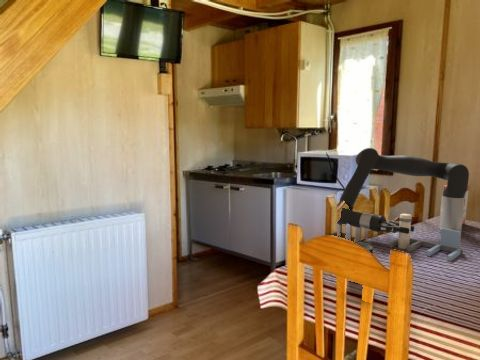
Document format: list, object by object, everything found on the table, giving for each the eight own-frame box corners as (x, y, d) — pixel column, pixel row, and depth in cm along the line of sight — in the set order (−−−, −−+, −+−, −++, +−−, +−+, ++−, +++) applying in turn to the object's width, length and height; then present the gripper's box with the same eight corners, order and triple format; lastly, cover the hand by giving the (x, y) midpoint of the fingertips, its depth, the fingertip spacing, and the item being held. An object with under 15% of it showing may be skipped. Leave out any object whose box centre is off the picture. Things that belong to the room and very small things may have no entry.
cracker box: (449, 227, 197) (452, 186, 194) (438, 224, 202) (441, 185, 199) (466, 224, 203) (469, 185, 200) (455, 221, 209) (458, 183, 206)
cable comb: (400, 240, 173) (402, 220, 172) (463, 253, 156) (465, 232, 154) (387, 246, 164) (388, 225, 163) (452, 261, 146) (454, 238, 145)
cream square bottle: (394, 245, 165) (397, 213, 163) (405, 245, 166) (407, 213, 164) (401, 249, 161) (403, 216, 159) (412, 248, 161) (414, 216, 159)
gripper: (365, 216, 167) (405, 224, 155) (380, 211, 177) (418, 218, 165) (364, 233, 168) (403, 242, 156) (379, 227, 178) (417, 235, 166)
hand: (411, 230), depth 160 cm, fingers closed on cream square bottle, 4 cm apart
